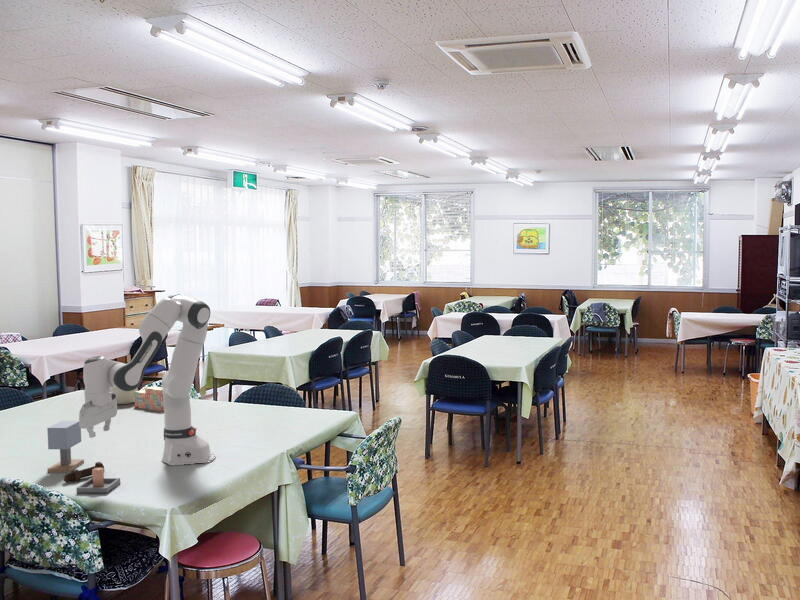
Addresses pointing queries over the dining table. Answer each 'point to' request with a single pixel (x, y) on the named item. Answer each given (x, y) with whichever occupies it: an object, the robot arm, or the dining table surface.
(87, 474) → the bolt
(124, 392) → the canister
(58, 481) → the dining table surface
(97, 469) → the peach rounded cylinder
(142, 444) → the dining table surface
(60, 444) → the mounted unit
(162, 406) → the stack of blocks
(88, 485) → the parts tray
